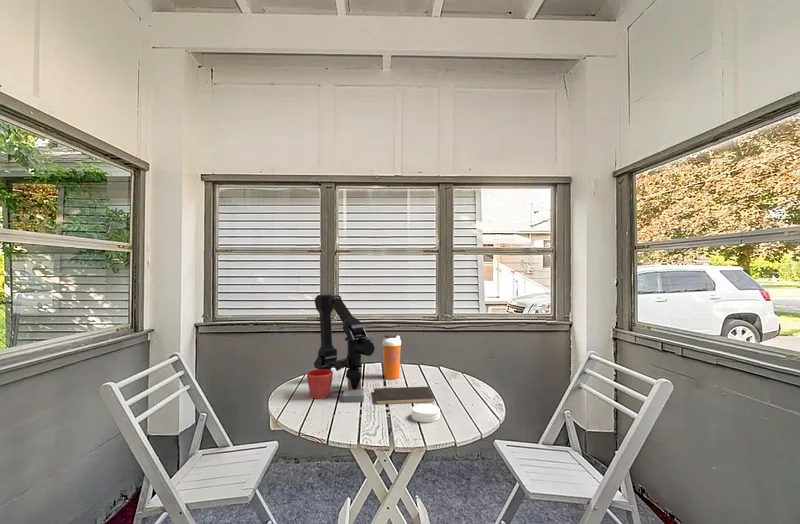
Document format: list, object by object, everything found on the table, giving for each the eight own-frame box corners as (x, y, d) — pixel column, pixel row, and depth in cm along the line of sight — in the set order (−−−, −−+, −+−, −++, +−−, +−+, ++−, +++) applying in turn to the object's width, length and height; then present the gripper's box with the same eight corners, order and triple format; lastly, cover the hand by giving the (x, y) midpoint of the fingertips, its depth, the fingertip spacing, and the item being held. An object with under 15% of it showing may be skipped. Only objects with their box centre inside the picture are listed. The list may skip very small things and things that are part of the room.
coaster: (422, 411, 166) (422, 401, 166) (445, 417, 160) (445, 407, 160) (405, 418, 158) (405, 408, 158) (428, 425, 152) (428, 415, 152)
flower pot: (300, 397, 182) (300, 373, 182) (317, 390, 191) (317, 367, 191) (321, 401, 177) (321, 376, 177) (338, 394, 186) (338, 370, 186)
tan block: (348, 390, 192) (348, 377, 192) (361, 389, 193) (361, 376, 193) (347, 393, 187) (347, 380, 187) (360, 393, 187) (360, 380, 187)
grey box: (344, 396, 184) (344, 390, 184) (363, 395, 184) (363, 389, 184) (343, 402, 176) (343, 396, 176) (363, 401, 176) (363, 395, 176)
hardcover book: (434, 403, 176) (434, 397, 176) (376, 405, 173) (376, 400, 173) (428, 391, 191) (427, 386, 191) (374, 393, 189) (374, 388, 189)
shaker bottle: (379, 376, 214) (379, 334, 214) (396, 374, 218) (396, 332, 218) (386, 380, 206) (386, 337, 206) (404, 378, 210) (404, 335, 210)
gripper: (336, 348, 198) (336, 383, 199) (333, 357, 180) (333, 396, 180) (361, 347, 199) (362, 382, 199) (361, 356, 181) (361, 395, 181)
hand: (354, 388), depth 190 cm, fingers open, 7 cm apart
